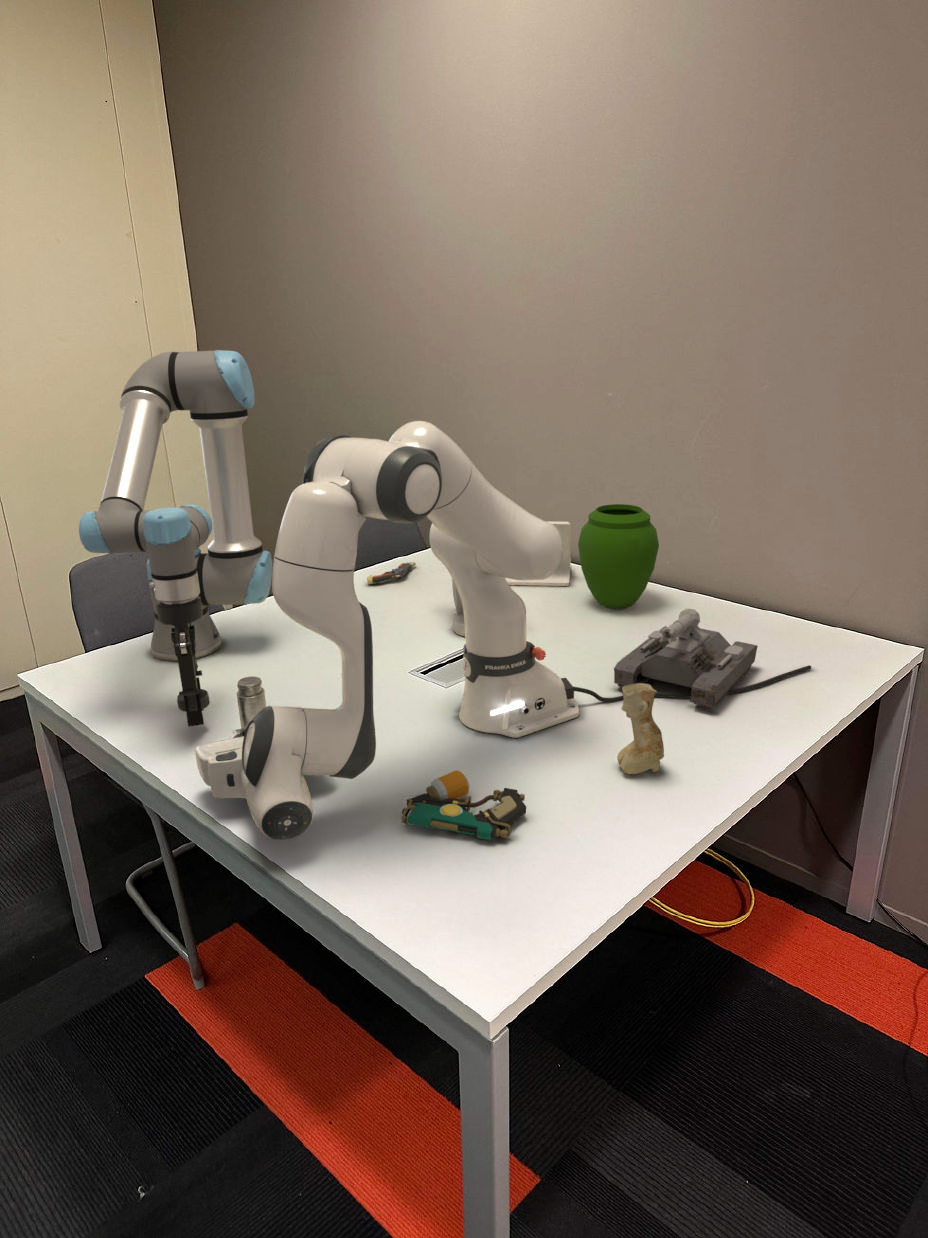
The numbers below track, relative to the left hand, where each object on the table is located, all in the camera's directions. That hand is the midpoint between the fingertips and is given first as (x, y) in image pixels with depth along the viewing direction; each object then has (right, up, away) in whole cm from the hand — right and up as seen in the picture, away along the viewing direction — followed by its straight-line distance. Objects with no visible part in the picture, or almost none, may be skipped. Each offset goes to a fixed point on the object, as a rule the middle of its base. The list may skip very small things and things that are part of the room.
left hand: (196, 717), depth 157 cm
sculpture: (+78, -7, -16) cm, 80 cm away
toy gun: (+29, +30, +85) cm, 95 cm away
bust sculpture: (+50, +16, +47) cm, 71 cm away
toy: (+94, +6, +16) cm, 96 cm away
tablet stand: (+66, +30, +82) cm, 110 cm away
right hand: (+14, -1, -13) cm, 19 cm away
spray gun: (+50, -12, -28) cm, 58 cm away
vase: (+87, +22, +58) cm, 107 cm away
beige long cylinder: (+15, -7, -12) cm, 20 cm away
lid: (0, +4, -1) cm, 4 cm away
